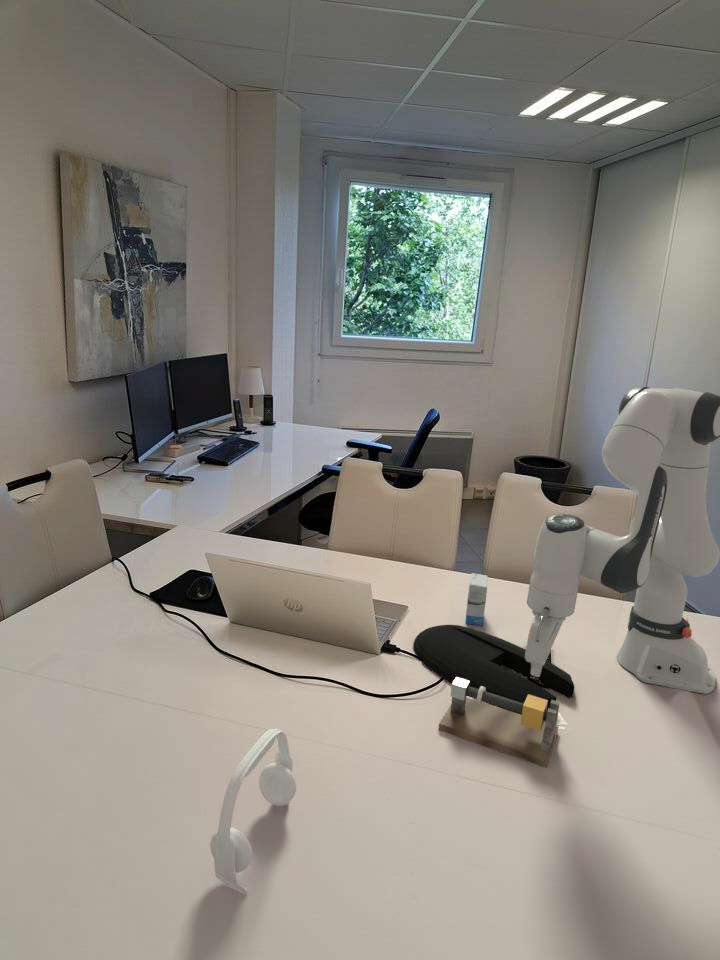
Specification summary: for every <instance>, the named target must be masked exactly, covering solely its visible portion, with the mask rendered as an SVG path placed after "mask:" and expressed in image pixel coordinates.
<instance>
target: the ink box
mask: <svg viewBox="0 0 720 960" xmlns="http://www.w3.org/2000/svg"><path fill="white" fill-rule="evenodd" d="M488 578H489V577H488V575H486V574H481V573H479V574H478V573H474V572H472V573H470V577H469V579H470V580H469V584H468V585H469V586H468V594H467V600H466V601H467V603H466V610H465V611H466V612H465V624H467V625H475V626H481V627H482V626H483V627H484V618H485V609H486V602H487V593H488Z"/></svg>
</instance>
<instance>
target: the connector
mask: <svg viewBox="0 0 720 960" xmlns="http://www.w3.org/2000/svg"><path fill="white" fill-rule="evenodd" d="M469 685H470V681H468V680H465V679H462V678H458V677H456V678H455V680H454V681H453V683H451V687H450V688H451V690H450V697H451V702H450V705H451V711H450V712H451V713H454V714H457V715H460V716H462V714H463V712H464V710H465V704H466V697H468V696H466V689H467V687H468V686H469Z"/></svg>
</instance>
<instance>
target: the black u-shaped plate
mask: <svg viewBox="0 0 720 960" xmlns="http://www.w3.org/2000/svg"><path fill="white" fill-rule="evenodd" d="M413 651H414V654H416V655H417V657H418V658H419V659H421V663H422V665H424V666H425V667H426V668H427V669H429V670H430V671H432V672H433V673H435V674H436V675H438V676H439V677H441V678H442V679H443V680H445V681H446V682H449V683H451V684H452V683H453V681H454V680H455V678H456V677H458V678H462V679H465V680H468V681H470V685H469V686H470V687H473V688H476V689H479V688H480V687H481V686H483V687H485V692H489V693H492V694H495V695H498V696H501V697H504V698H508V699H511V700H514V701H517V702H520V703H523V704H524V702H525V700H526V698H527V695H528V694H529V695H532V696H536V697H539V698H542V699H545V700H548V703H547V709H546V711H548V708H550V703H551V700H554V701H557V696H555V695H554V694H552V693H550V691H548V690H547V689H545V688H543V687H541V686H539V684H536V683H534V681H533V682H532V681H531V680H530V679H529V677H530V676H532V677H535V678H538V679H539V680H541V682H542V683H543V684H544V685H545V686H544V687H546V688H548V689H550V690H551V691H554V692H556V693H558V694H560V695H561V696H564V697H566V698H568V699H571V698H573V697H574V694H575V693H574V691H575V684H574V682H573V678H572V676H571V674H569V673H568V672H567V671H565V670H563V669H562V668H560V667H559V666H557V665H556V664H554V663H552V662H550V661H548V660H547V659H546V662H545V664H544V665H543V666H542V671H541V674H540V676H539V677H536V676H533V675H531V673H530V672H531V663H530V662H527V661H526V660H525V652H526V648H523V647H521V646H519V645H517V644H514V643H513V642H510V641H507V640H505V639H503V638H500V637H498V636H495V635H492V634H489V633H487V632H484V631H481V630H477V629H475V628H471V627H468V626H463V625H460V624H442V625H441V624H440V625H434V626H429V627H427V628H425V629H424V630H422V631H421V632H419V633H418V634H417V636H415V639H414V640H413ZM494 706H496V705H494ZM496 707H499V708H502V709H505V710H508V711H511V712H514V713H517V714H521V713H518V712H515V711H512V710H509V709H506V708H503V707H500V706H496ZM521 715H522V714H521Z"/></svg>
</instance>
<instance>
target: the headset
mask: <svg viewBox="0 0 720 960" xmlns="http://www.w3.org/2000/svg"><path fill="white" fill-rule="evenodd" d="M276 740H277V747H278V752H277V753H276V754H275V756H274V760H273V762H272V763H269V764H267V765H266V766H264V767H263V769H261V772H260V775H259V777H258V778H259V779H258V787H259V790H260V793H261V795H262V796H263V798H264V800H265V801H267V802H269V803H270V804H271V805H273V806H278V807H280V806H282V807H283V806H288V807H289V805H290V803H291V802H292V800H293V799H294V797H295V795H296V790H297V782H296V778H295V776H294V774H293V766H294V763H293V762H294V761H293V758H292V756H291V753H290V750H289V747H290V746H289V742H288V739H287V735H286V734H285V733H284V732H283V731H282V730H281V729H279V728H270V729H268V730H266V732H265V733H263V734H262V735H261V737H259V739H257V741H256V742H255V744H253V746H252V747H251V748H250V749H249V750H248V752H247V753H246V754H245V756H244V757H242V759H241V761H240V763H239V764H238V765H237V767H236V769H235V771H234V772H233V774H232V776H231V777H230V780H229V783H228V785H227V788H226V790H225V794H224V797H223V802H222V804H221V812H220V816H219V822H218V827H217V830H215V832H214V833H213V834H212V836H211V839H210V844H209V846H210V847H209V848H210V854H211V855H212V858H213V862H214V874H215V877H216V878H217V879H218V880H219V881H220V882H221V883H223V884H224V885H226V886H228V887H229V888H231V889H232V890H234V891H237V892H238V893H240V894H243V895H245V896H246V895H248V889H247V888H246V887H245V886H244V885H242V884H240V883H239V880H238V879H237V873H242V872H244V871H245V870H247V868H248V867H249V865H250V864H251V862H252V858H253V857H252V856H253V851H252V846H251V844H250V841H249V839H248V838H247V837H246V836H245V834H243V833H242V831H240V830H239V829H237V828H235V827H231V826H232V822H233V821H232V819H233V814H234V809H235V805H236V800H237V797H238V793H239V792H240V789H241V786H242V783H243V781H244V779H245V778H247V777H248V776H249V775H250V774H251V773H252V771H253V770H254V769H255V768H256V767H257V765H258V764H259V762H261V761H262V759H263V757H264V756H265V755H266V754H267V753H268V752H269V750H270V749H271V748H272V747H273V745H274V744H275V742H276Z"/></svg>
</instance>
